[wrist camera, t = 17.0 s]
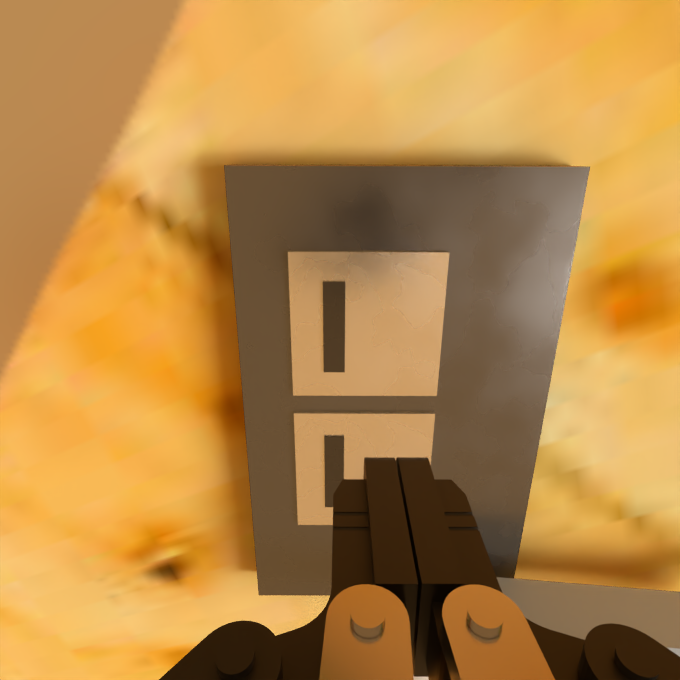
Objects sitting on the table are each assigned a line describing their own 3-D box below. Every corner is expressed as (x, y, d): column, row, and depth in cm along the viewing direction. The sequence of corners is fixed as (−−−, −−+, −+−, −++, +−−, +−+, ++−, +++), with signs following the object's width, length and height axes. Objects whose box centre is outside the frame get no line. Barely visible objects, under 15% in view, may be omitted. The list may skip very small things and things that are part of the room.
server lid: (232, 164, 21) (222, 165, 19) (572, 165, 21) (593, 166, 19) (262, 575, 30) (258, 602, 28) (501, 575, 30) (511, 602, 28)
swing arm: (359, 600, 27) (364, 730, 21) (366, 558, 26) (374, 683, 20) (730, 629, 28) (840, 762, 22) (753, 589, 27) (875, 718, 21)
